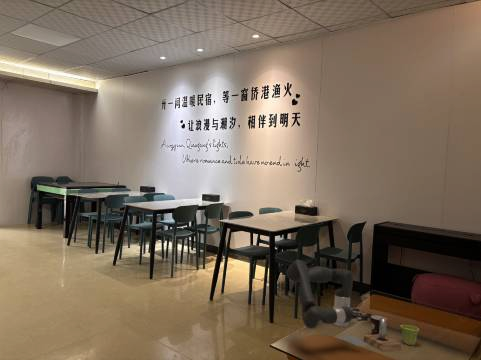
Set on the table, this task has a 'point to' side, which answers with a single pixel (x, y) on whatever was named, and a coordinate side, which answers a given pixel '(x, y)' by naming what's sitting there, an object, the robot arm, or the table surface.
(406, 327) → the plant pot
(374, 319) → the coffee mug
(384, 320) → the steel pin
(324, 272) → the robot arm
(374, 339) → the socket block
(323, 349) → the table surface
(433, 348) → the table surface
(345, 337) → the mat
